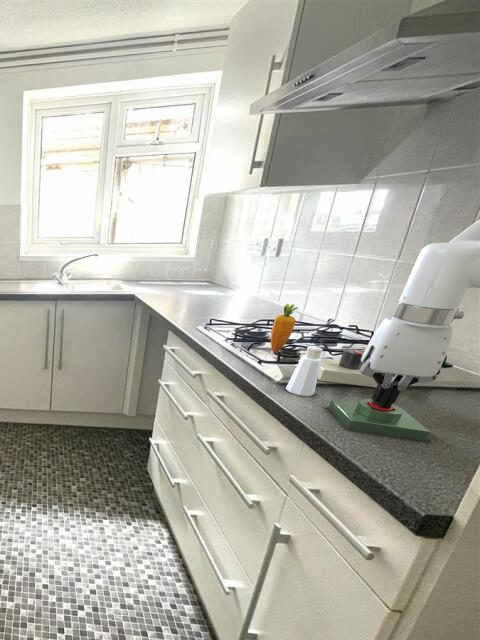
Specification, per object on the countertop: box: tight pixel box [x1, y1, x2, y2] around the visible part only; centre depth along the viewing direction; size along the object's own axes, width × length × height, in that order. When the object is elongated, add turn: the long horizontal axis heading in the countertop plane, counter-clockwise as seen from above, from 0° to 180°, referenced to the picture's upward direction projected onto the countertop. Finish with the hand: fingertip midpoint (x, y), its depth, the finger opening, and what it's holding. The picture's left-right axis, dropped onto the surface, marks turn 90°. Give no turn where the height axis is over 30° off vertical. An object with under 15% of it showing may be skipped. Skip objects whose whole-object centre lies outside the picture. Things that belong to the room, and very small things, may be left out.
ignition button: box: [369, 401, 394, 411], centre depth 83 cm, size 4×4×2 cm
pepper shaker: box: [285, 345, 323, 397], centre depth 96 cm, size 5×5×11 cm
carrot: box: [270, 303, 299, 354], centre depth 120 cm, size 5×5×15 cm
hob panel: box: [317, 357, 394, 388], centre depth 106 cm, size 14×10×3 cm
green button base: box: [327, 398, 431, 442], centre depth 84 cm, size 12×10×4 cm
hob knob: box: [339, 348, 365, 370], centre depth 105 cm, size 4×4×4 cm
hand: (380, 404), depth 83 cm, fingers closed
